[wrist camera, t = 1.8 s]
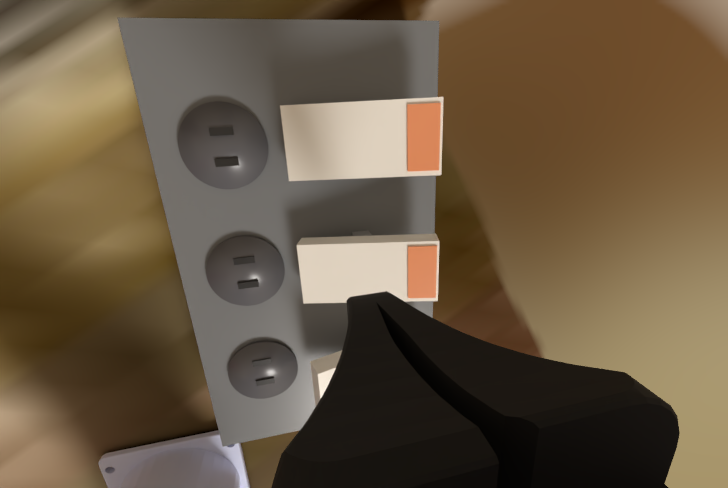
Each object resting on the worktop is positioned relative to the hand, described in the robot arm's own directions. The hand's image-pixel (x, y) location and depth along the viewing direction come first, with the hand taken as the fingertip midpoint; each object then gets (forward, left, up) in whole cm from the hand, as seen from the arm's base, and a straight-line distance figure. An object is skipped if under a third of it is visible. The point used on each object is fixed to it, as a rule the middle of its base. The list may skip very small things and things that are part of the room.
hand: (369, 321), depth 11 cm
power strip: (0, +1, -10) cm, 10 cm away
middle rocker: (0, -1, -4) cm, 5 cm away
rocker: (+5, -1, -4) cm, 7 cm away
